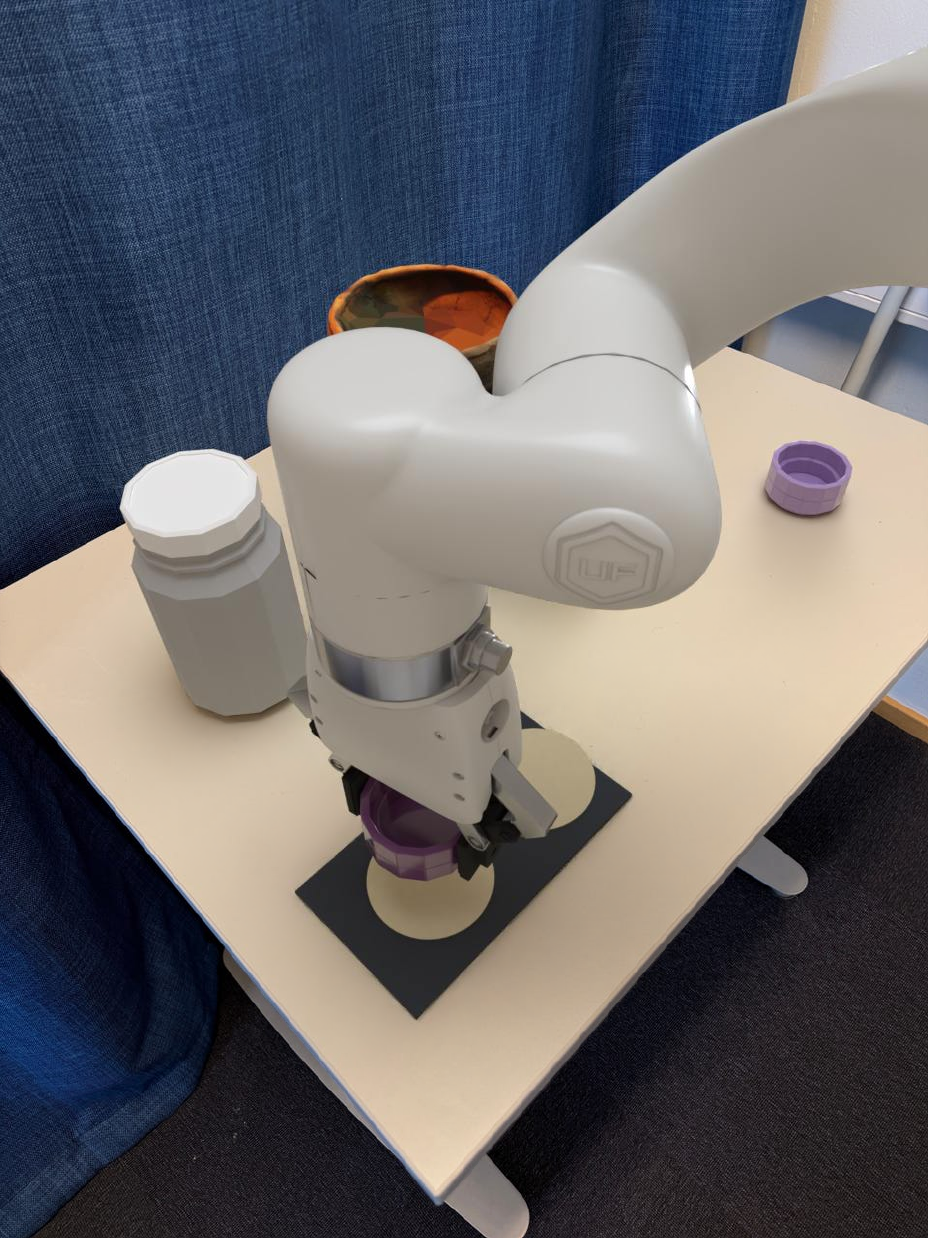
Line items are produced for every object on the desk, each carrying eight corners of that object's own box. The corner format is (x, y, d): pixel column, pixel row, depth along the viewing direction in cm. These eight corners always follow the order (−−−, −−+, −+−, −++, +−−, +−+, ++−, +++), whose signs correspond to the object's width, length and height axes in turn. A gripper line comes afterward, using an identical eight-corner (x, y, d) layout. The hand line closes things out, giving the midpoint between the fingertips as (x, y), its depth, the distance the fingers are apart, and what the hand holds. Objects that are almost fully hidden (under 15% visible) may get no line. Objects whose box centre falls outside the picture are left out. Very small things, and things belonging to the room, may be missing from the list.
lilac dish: (801, 461, 84) (811, 431, 81) (857, 501, 80) (869, 471, 77) (747, 486, 82) (756, 455, 79) (802, 528, 78) (812, 498, 75)
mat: (515, 702, 66) (515, 698, 66) (636, 792, 61) (637, 788, 61) (295, 893, 57) (294, 890, 56) (416, 1020, 51) (415, 1017, 51)
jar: (174, 645, 71) (99, 461, 57) (296, 610, 73) (251, 425, 59) (194, 742, 64) (115, 562, 51) (327, 701, 67) (285, 517, 53)
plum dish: (443, 763, 55) (441, 731, 53) (502, 850, 52) (503, 820, 49) (346, 813, 53) (339, 782, 51) (400, 907, 49) (395, 879, 47)
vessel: (403, 448, 87) (384, 244, 72) (542, 487, 82) (553, 278, 67) (326, 543, 78) (286, 334, 63) (476, 591, 74) (472, 379, 59)
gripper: (623, 643, 38) (587, 848, 51) (298, 501, 44) (342, 716, 57) (534, 775, 33) (521, 961, 47) (189, 597, 40) (264, 805, 53)
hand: (422, 825), depth 52 cm, fingers closed on plum dish, 6 cm apart
